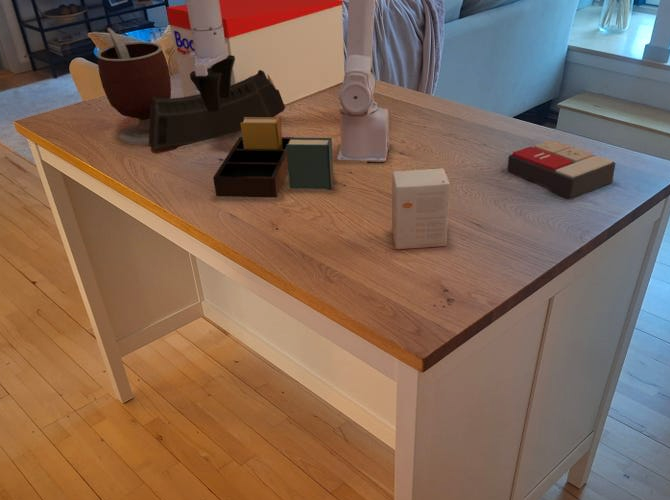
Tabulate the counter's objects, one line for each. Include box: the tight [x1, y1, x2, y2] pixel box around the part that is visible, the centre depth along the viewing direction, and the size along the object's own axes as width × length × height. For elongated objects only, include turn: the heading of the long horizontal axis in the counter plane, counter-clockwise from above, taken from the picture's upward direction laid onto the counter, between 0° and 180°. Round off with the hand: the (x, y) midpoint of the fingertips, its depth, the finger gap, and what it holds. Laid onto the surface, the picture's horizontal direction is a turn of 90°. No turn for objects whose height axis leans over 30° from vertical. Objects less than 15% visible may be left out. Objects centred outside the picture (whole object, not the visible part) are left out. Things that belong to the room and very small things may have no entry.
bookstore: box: [165, 0, 345, 106], centre depth 155 cm, size 21×35×21 cm, turn 137°
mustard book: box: [240, 116, 283, 149], centre depth 126 cm, size 7×3×8 cm, turn 82°
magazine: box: [149, 70, 286, 150], centre depth 137 cm, size 17×3×30 cm
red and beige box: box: [507, 139, 616, 200], centre depth 117 cm, size 11×4×15 cm
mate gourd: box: [96, 27, 172, 146], centre depth 137 cm, size 16×14×20 cm
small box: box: [391, 167, 451, 250], centre depth 100 cm, size 8×6×10 cm
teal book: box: [286, 137, 335, 190], centre depth 117 cm, size 8×3×8 cm, turn 82°
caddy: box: [212, 136, 296, 198], centre depth 123 cm, size 11×19×4 cm, turn 172°
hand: (219, 103), depth 127 cm, fingers open, 7 cm apart
